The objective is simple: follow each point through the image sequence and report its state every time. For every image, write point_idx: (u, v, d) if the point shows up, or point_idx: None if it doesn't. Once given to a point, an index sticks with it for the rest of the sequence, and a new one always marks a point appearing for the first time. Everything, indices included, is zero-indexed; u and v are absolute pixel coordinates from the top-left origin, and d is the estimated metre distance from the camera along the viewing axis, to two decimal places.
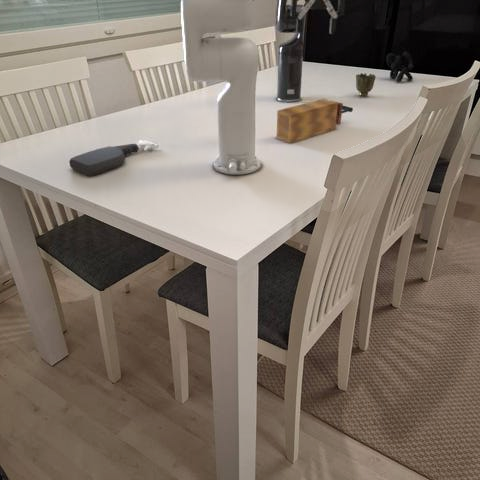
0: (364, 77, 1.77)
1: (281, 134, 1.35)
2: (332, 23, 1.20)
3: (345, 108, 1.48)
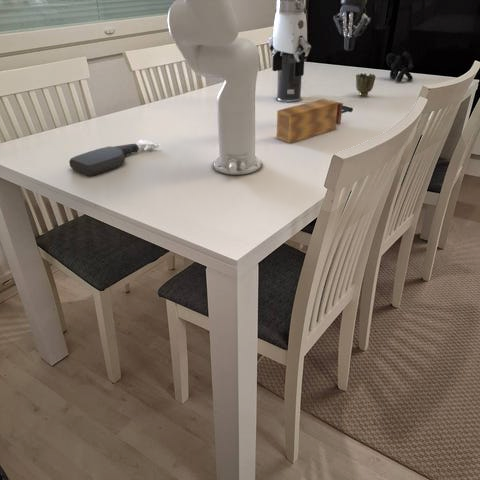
0: (364, 77, 1.77)
1: (281, 134, 1.35)
2: (348, 41, 1.35)
3: (345, 108, 1.48)
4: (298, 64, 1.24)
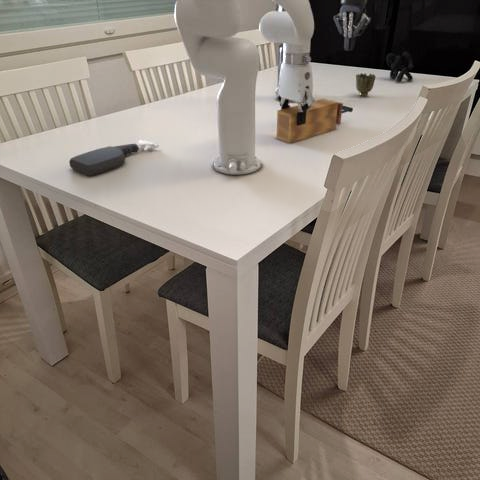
0: (364, 77, 1.77)
1: (281, 134, 1.35)
2: (348, 41, 1.35)
3: (345, 108, 1.48)
4: (301, 114, 1.30)
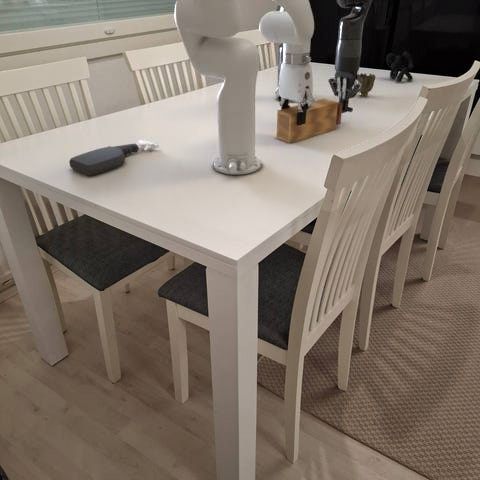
0: (364, 77, 1.77)
1: (281, 134, 1.35)
2: None
3: None
4: (301, 114, 1.30)
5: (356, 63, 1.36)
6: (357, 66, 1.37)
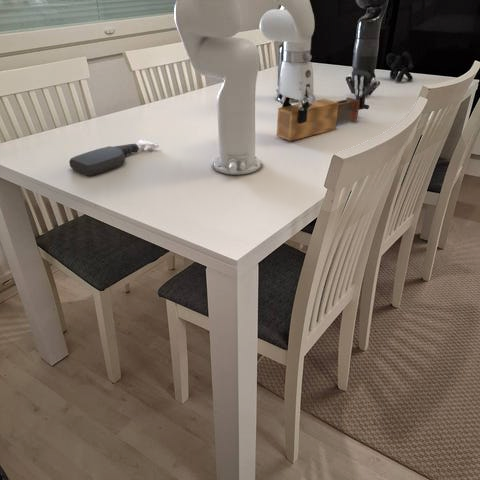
0: None
1: (281, 132, 1.35)
2: None
3: None
4: (302, 112, 1.30)
5: (373, 61, 1.41)
6: (374, 64, 1.42)
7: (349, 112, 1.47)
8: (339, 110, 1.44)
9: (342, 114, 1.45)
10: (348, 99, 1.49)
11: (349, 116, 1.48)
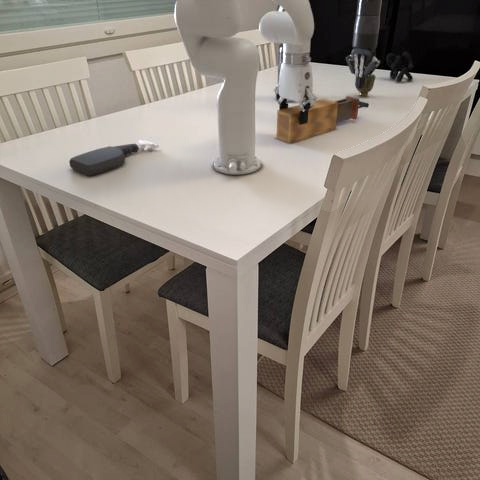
0: None
1: (281, 134, 1.35)
2: (359, 80, 1.46)
3: (361, 104, 1.52)
4: (303, 113, 1.29)
5: (374, 40, 1.37)
6: (375, 43, 1.38)
7: (349, 111, 1.47)
8: (339, 110, 1.44)
9: (342, 113, 1.45)
10: (347, 98, 1.49)
11: (349, 115, 1.48)
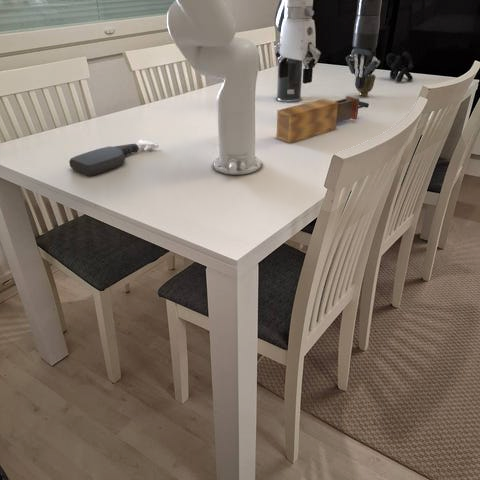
0: None
1: (281, 134, 1.35)
2: (359, 80, 1.46)
3: (361, 104, 1.52)
4: (307, 71, 1.23)
5: (374, 40, 1.37)
6: (375, 43, 1.38)
7: (349, 111, 1.47)
8: (339, 110, 1.44)
9: (342, 113, 1.45)
10: (347, 98, 1.49)
11: (349, 115, 1.48)
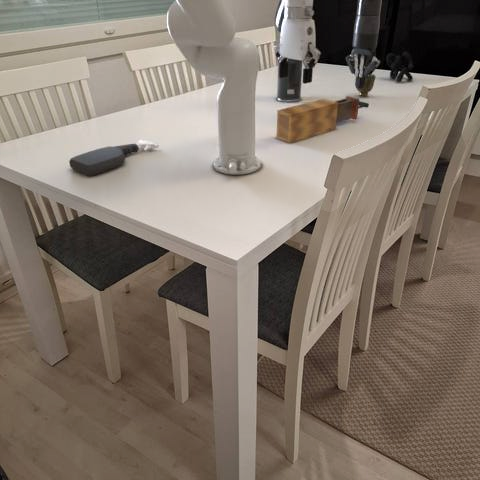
0: None
1: (281, 134, 1.35)
2: (359, 80, 1.46)
3: (361, 104, 1.52)
4: (307, 71, 1.23)
5: (374, 40, 1.37)
6: (375, 43, 1.38)
7: (349, 111, 1.47)
8: (339, 110, 1.44)
9: (342, 113, 1.45)
10: (347, 98, 1.49)
11: (349, 115, 1.48)
